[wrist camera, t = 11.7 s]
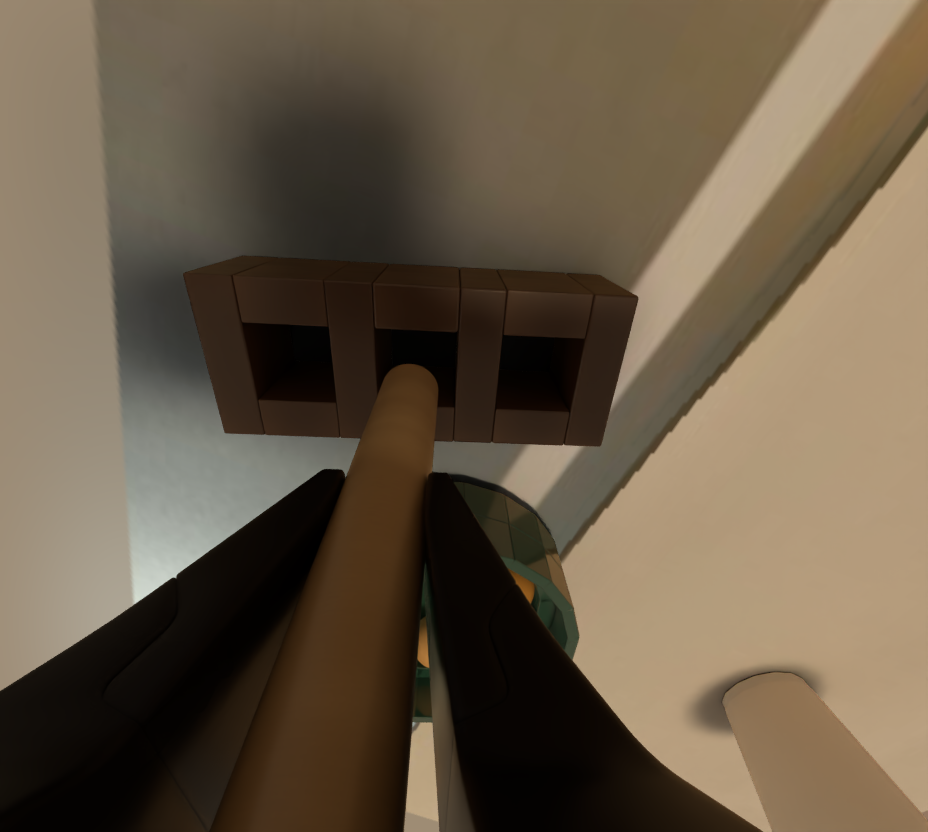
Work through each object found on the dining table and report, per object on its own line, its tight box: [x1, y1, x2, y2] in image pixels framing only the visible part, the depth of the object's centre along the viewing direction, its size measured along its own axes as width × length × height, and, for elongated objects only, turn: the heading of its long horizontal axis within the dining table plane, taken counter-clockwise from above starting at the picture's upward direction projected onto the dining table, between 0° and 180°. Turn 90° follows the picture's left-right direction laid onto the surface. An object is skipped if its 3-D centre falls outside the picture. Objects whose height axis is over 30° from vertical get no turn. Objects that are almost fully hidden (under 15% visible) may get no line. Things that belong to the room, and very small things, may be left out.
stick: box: [209, 364, 438, 832], centre depth 8 cm, size 2×2×11 cm
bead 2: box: [509, 569, 535, 604], centre depth 22 cm, size 3×3×3 cm
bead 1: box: [417, 616, 429, 668], centre depth 25 cm, size 3×3×3 cm
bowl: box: [412, 482, 579, 722], centre depth 23 cm, size 14×14×5 cm
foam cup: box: [722, 672, 928, 832], centre depth 27 cm, size 10×9×13 cm
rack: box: [183, 256, 638, 446], centre depth 16 cm, size 14×6×4 cm, turn 87°
